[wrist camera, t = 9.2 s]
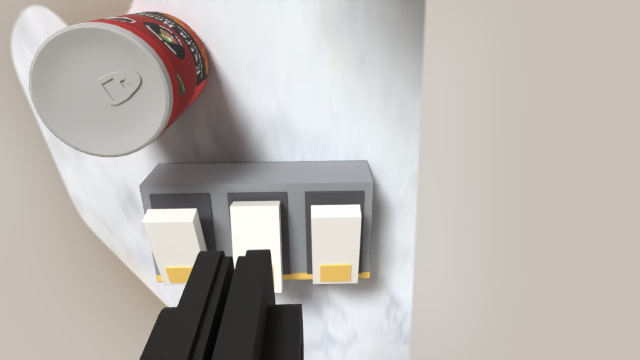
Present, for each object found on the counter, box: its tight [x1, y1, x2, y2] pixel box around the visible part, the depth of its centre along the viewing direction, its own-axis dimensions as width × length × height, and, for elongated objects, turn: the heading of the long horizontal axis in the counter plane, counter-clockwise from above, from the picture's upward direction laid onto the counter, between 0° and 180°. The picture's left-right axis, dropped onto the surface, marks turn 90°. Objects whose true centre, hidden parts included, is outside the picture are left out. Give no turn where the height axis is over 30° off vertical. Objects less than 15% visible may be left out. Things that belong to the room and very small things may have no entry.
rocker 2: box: [230, 201, 283, 293], centre depth 34 cm, size 7×4×2 cm, turn 1°
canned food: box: [29, 12, 208, 157], centre depth 30 cm, size 8×8×11 cm
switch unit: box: [139, 160, 373, 282], centre depth 38 cm, size 9×18×5 cm, turn 91°
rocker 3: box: [311, 205, 361, 284], centre depth 35 cm, size 7×4×2 cm, turn 1°
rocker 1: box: [142, 208, 207, 285], centre depth 34 cm, size 7×4×2 cm, turn 0°
